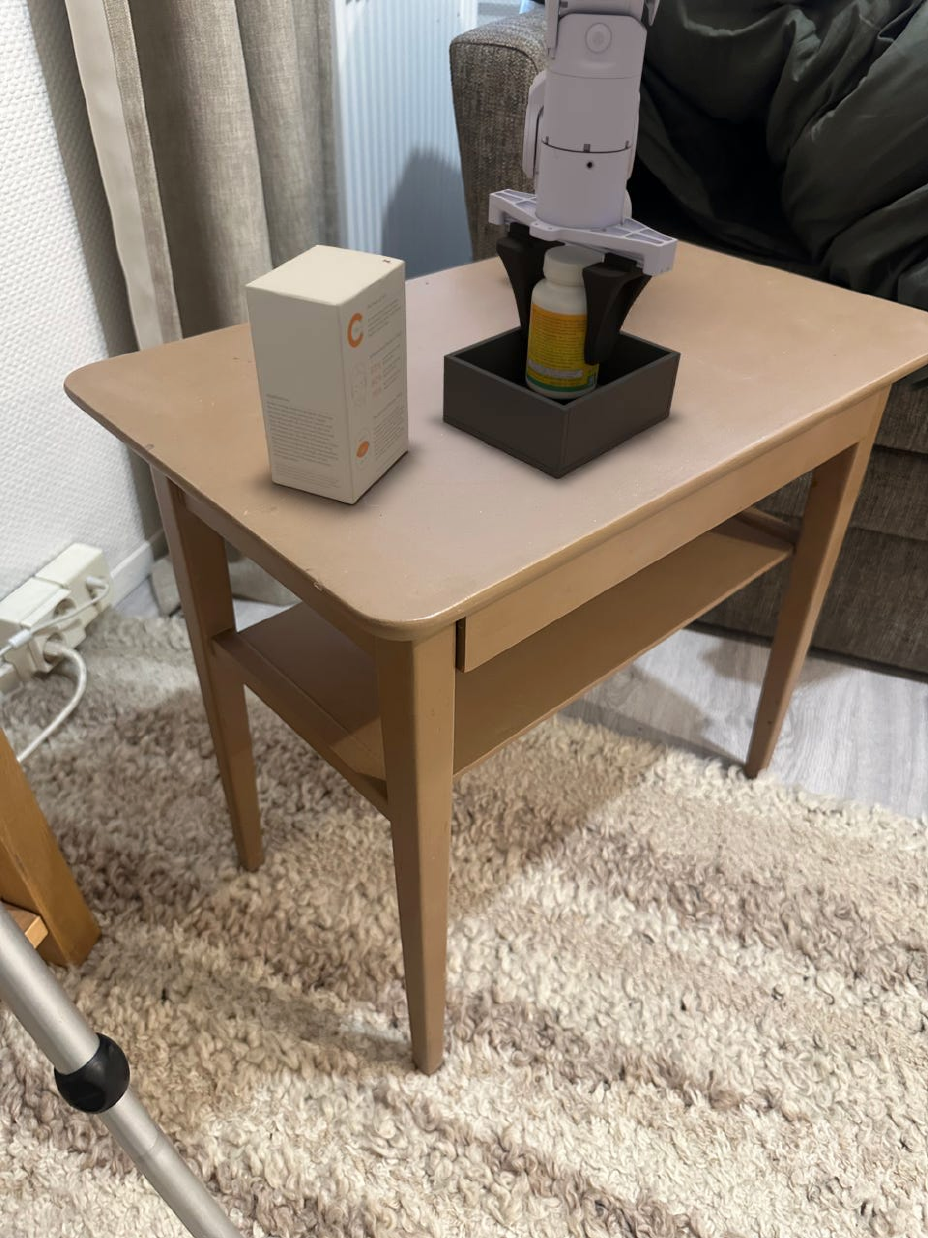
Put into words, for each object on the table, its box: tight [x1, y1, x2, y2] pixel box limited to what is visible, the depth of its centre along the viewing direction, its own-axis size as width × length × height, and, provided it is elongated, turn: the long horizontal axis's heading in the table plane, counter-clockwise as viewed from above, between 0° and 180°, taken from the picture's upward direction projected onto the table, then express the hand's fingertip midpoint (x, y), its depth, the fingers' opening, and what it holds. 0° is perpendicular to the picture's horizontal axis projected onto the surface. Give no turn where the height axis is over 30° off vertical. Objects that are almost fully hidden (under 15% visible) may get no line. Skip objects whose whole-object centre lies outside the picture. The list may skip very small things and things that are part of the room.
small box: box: [244, 244, 410, 505], centre depth 56 cm, size 8×6×13 cm
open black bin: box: [442, 325, 682, 479], centre depth 65 cm, size 13×11×5 cm
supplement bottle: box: [526, 246, 603, 399], centre depth 64 cm, size 5×5×10 cm
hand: (564, 347), depth 66 cm, fingers closed on supplement bottle, 5 cm apart
